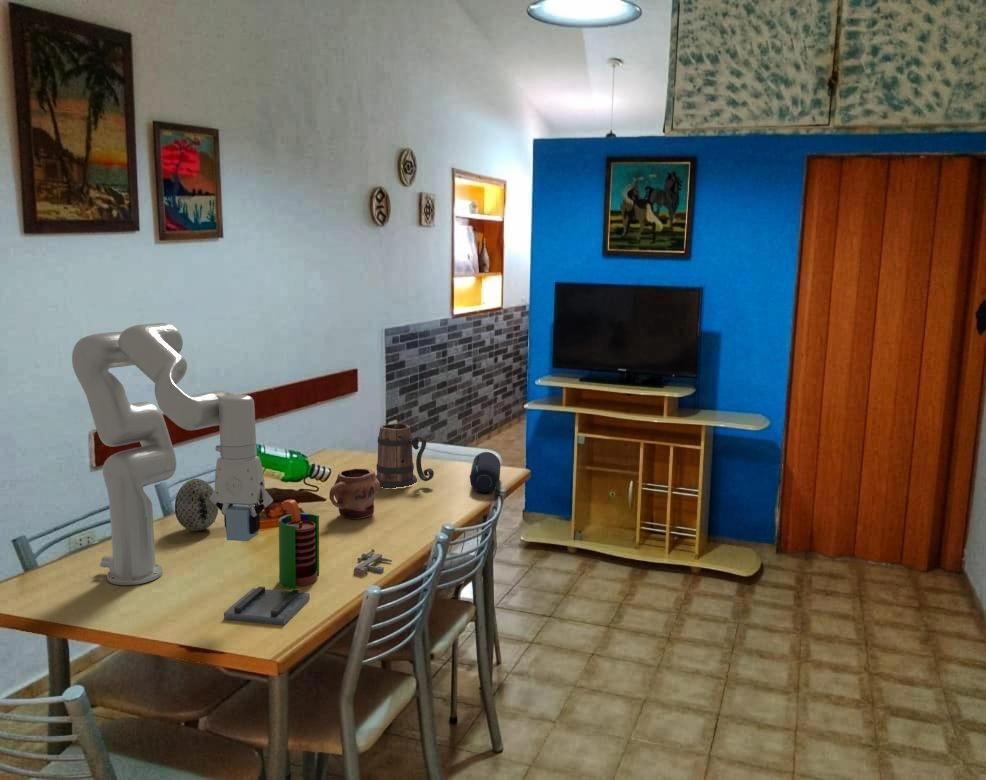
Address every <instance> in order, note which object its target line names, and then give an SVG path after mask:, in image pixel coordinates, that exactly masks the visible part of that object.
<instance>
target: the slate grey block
mask: <svg viewBox="0 0 986 780" xmlns="http://www.w3.org/2000/svg"><path fill="white" fill-rule="evenodd" d="M225 514H226V527H225V532H226V541H236V542H237V541H239V542H249V541H250V540H252V539H254V538H255V537H257V536H258V535H259V530H258V531H257V532H255V533H254V534H250V527H249V517H250V516H251V512H250V509H249V506H248V505H241V504H233V505H232V506H230V507H228V508H227V509H225Z"/></svg>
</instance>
